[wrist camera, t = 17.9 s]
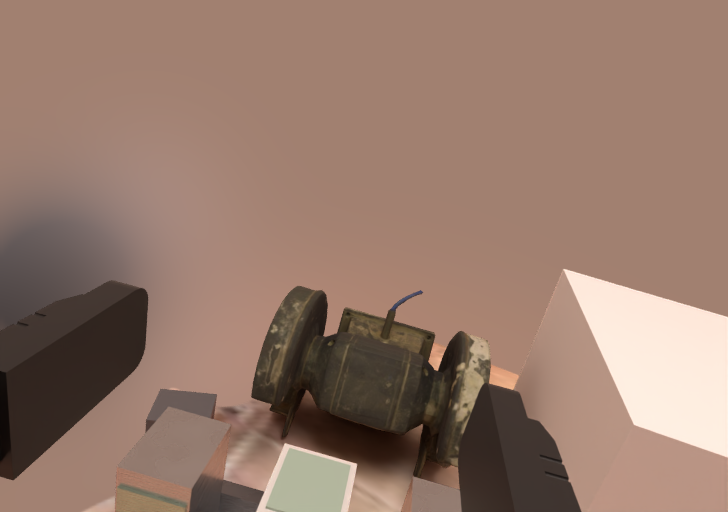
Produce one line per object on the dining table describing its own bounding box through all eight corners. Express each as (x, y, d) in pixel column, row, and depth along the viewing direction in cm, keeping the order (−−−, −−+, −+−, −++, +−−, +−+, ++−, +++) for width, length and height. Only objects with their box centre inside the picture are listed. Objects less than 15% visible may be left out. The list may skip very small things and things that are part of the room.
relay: (209, 451, 44) (216, 394, 42) (200, 485, 41) (208, 425, 38) (156, 447, 44) (160, 388, 41) (142, 481, 40) (146, 419, 37)
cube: (837, 881, 26) (1189, 617, 18) (480, 707, 30) (633, 424, 22) (678, 527, 49) (800, 338, 41) (486, 454, 53) (563, 268, 45)
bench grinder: (458, 544, 37) (528, 314, 39) (215, 446, 39) (294, 234, 41) (436, 464, 57) (483, 314, 59) (276, 402, 59) (327, 260, 61)
